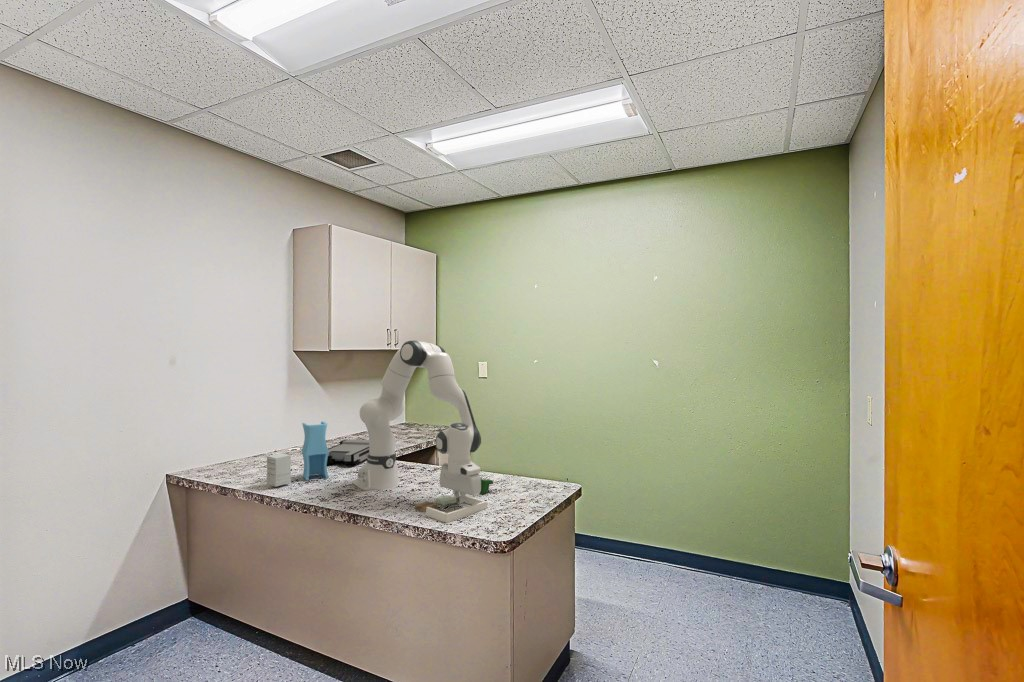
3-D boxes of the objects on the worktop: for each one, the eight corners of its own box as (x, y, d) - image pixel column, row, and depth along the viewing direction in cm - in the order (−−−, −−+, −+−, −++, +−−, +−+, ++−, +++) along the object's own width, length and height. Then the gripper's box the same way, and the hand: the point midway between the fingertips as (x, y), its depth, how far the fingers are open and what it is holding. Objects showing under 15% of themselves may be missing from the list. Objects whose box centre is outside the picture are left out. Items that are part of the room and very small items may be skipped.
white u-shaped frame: (426, 515, 186) (426, 507, 186) (466, 503, 201) (466, 495, 201) (446, 523, 178) (446, 514, 178) (487, 509, 193) (487, 501, 193)
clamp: (488, 502, 214) (497, 483, 213) (478, 502, 210) (487, 483, 209) (471, 486, 222) (480, 468, 221) (461, 486, 218) (470, 467, 217)
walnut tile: (414, 510, 193) (414, 504, 193) (426, 506, 198) (426, 501, 198) (425, 513, 190) (425, 508, 190) (437, 509, 194) (437, 504, 194)
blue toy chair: (323, 472, 247) (323, 421, 248) (328, 477, 239) (328, 423, 239) (301, 475, 242) (302, 422, 242) (306, 480, 234) (306, 425, 234)
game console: (315, 467, 260) (315, 451, 260) (345, 453, 292) (345, 439, 292) (353, 468, 257) (353, 452, 257) (379, 455, 289) (380, 440, 289)
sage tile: (435, 503, 202) (435, 498, 202) (448, 500, 205) (448, 495, 205) (443, 507, 197) (443, 501, 197) (456, 503, 201) (456, 498, 201)
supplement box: (281, 480, 233) (282, 453, 233) (291, 483, 229) (291, 455, 229) (266, 484, 227) (266, 455, 227) (275, 486, 223) (275, 458, 223)
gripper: (435, 463, 201) (435, 498, 201) (471, 472, 187) (471, 510, 187) (448, 460, 205) (448, 495, 205) (483, 469, 192) (483, 505, 192)
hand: (459, 502), depth 196 cm, fingers closed
